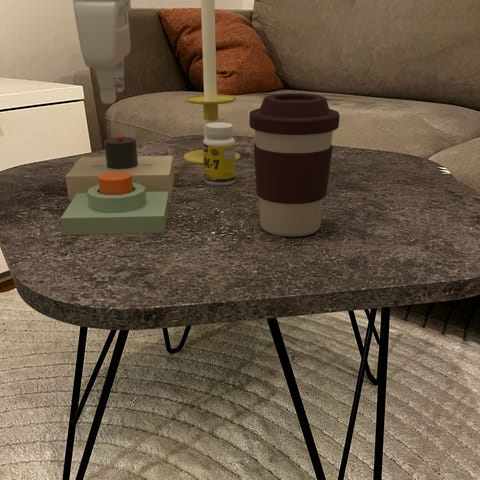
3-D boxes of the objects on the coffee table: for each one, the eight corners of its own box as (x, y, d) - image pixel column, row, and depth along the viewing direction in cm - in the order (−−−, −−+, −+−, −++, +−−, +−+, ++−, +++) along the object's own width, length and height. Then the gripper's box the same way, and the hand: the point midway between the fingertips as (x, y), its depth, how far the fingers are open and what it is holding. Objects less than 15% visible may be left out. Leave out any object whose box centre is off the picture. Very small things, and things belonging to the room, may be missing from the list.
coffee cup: (333, 216, 75) (342, 91, 68) (328, 245, 66) (339, 105, 59) (256, 212, 77) (257, 89, 69) (242, 239, 68) (242, 102, 61)
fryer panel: (68, 201, 81) (65, 175, 79) (83, 180, 91) (80, 156, 89) (170, 199, 82) (169, 173, 80) (174, 178, 92) (173, 154, 90)
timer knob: (136, 168, 83) (133, 141, 81) (104, 169, 83) (101, 141, 81) (139, 161, 87) (137, 134, 85) (109, 161, 87) (106, 135, 85)
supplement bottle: (197, 182, 90) (195, 124, 86) (220, 176, 93) (219, 120, 89) (219, 188, 87) (218, 129, 83) (242, 182, 90) (241, 124, 86)
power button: (97, 197, 71) (95, 180, 70) (102, 187, 74) (100, 171, 73) (131, 196, 71) (129, 179, 70) (134, 187, 74) (133, 171, 73)
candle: (239, 164, 99) (238, -21, 86) (180, 164, 99) (170, -21, 87) (241, 150, 108) (240, -20, 95) (187, 150, 108) (179, -19, 95)
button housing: (63, 235, 69) (57, 202, 68) (78, 209, 78) (74, 179, 76) (165, 233, 70) (163, 200, 68) (169, 207, 79) (167, 177, 77)
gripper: (91, -19, 83) (101, 86, 89) (61, -22, 65) (76, 109, 72) (136, -19, 83) (143, 86, 90) (119, -21, 65) (129, 109, 72)
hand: (113, 97), depth 81 cm, fingers open, 8 cm apart
